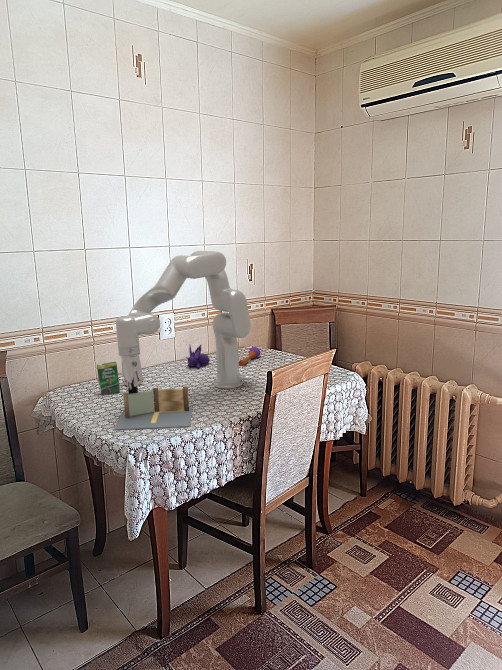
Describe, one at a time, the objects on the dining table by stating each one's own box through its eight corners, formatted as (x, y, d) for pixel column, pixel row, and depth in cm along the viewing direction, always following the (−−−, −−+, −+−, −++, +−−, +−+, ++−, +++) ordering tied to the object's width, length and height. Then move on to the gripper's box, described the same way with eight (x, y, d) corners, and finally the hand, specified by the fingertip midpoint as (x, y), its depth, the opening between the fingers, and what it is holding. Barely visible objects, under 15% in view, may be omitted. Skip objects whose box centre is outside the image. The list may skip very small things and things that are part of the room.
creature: (178, 369, 240) (176, 345, 237) (202, 360, 255) (200, 337, 252) (192, 372, 235) (191, 347, 233) (215, 363, 250) (214, 339, 247)
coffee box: (100, 395, 205) (97, 365, 203) (99, 393, 208) (96, 363, 205) (120, 392, 209) (117, 362, 206) (119, 390, 211) (116, 361, 208)
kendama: (234, 358, 243) (250, 345, 261) (237, 369, 244) (253, 356, 262) (245, 357, 241) (260, 344, 258) (248, 368, 242) (263, 355, 259)
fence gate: (153, 410, 185) (151, 388, 183) (154, 411, 184) (152, 389, 182) (124, 415, 180) (122, 393, 179) (125, 417, 179) (123, 394, 177)
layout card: (192, 407, 190) (192, 406, 189) (189, 426, 171) (189, 425, 171) (124, 410, 188) (124, 409, 188) (113, 430, 170) (113, 429, 170)
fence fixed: (189, 409, 186) (187, 386, 184) (188, 411, 185) (187, 387, 183) (155, 410, 186) (153, 387, 184) (154, 412, 184) (152, 389, 182)
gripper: (145, 353, 174) (150, 402, 178) (133, 344, 187) (137, 390, 191) (124, 356, 170) (129, 406, 175) (113, 347, 183) (118, 394, 187)
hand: (133, 398), depth 183 cm, fingers closed
